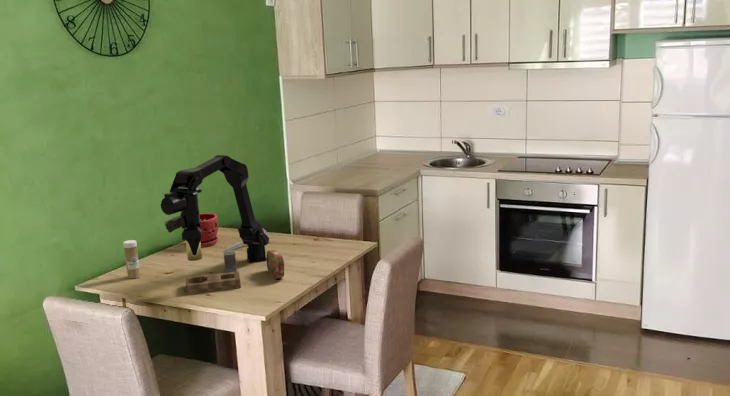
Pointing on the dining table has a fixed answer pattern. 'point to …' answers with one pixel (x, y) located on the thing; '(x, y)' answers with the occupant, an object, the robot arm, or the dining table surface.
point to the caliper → (239, 244)
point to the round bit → (190, 255)
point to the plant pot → (209, 229)
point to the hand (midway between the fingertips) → (194, 252)
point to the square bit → (230, 261)
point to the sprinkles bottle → (131, 258)
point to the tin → (275, 264)
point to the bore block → (212, 282)
